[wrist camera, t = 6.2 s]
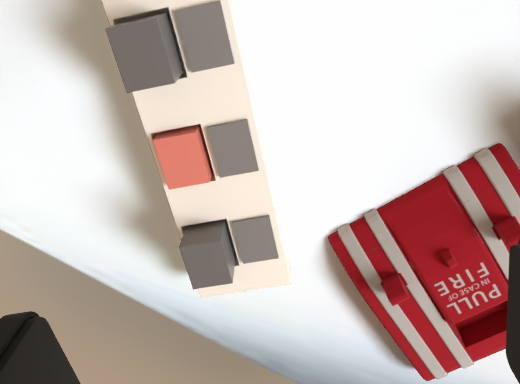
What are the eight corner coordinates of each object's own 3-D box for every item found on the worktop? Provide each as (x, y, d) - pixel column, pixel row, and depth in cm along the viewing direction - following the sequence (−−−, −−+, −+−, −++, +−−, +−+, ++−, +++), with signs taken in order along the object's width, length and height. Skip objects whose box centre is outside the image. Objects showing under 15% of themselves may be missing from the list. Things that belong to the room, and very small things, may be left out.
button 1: (120, 22, 31) (105, 28, 28) (166, 12, 31) (155, 17, 28) (139, 81, 33) (127, 93, 30) (183, 72, 32) (174, 83, 29)
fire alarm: (533, 166, 32) (617, 345, 39) (497, 137, 38) (576, 300, 45) (332, 271, 37) (440, 415, 44) (325, 232, 42) (422, 366, 49)
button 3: (186, 225, 38) (179, 247, 35) (224, 219, 37) (220, 240, 35) (199, 265, 40) (193, 289, 37) (235, 259, 39) (232, 283, 36)
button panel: (78, -127, 30) (53, -138, 26) (199, -159, 29) (189, -175, 25) (205, 273, 44) (200, 299, 40) (289, 260, 43) (291, 286, 39)
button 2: (162, 126, 36) (152, 140, 33) (202, 118, 36) (195, 132, 33) (176, 172, 38) (168, 189, 35) (214, 165, 37) (210, 182, 35)
